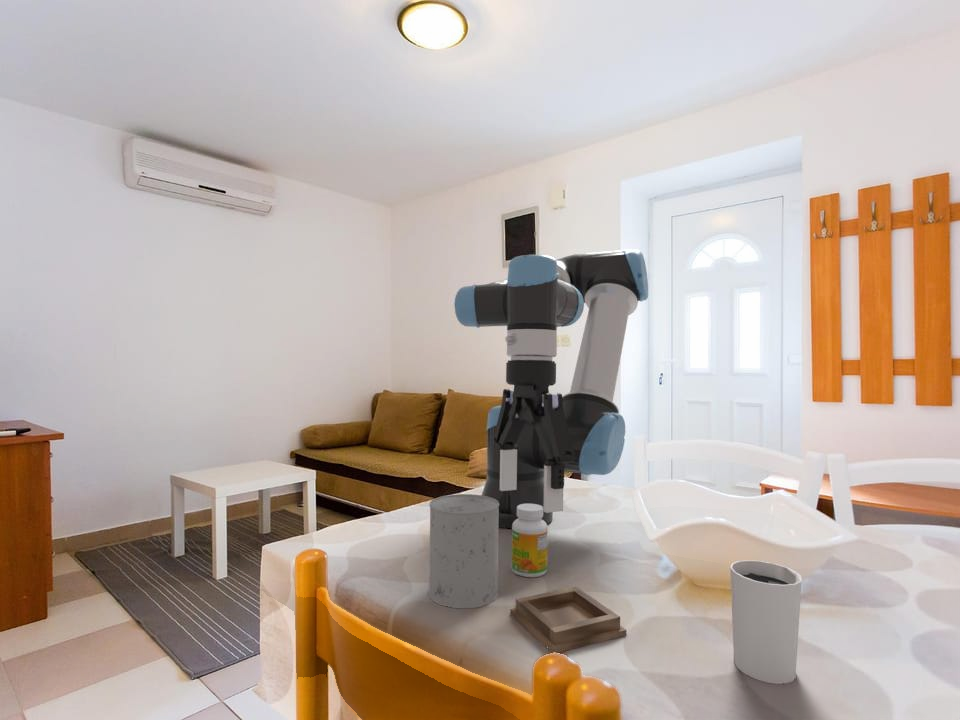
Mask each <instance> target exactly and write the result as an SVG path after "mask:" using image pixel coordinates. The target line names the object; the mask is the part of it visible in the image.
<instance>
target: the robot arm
mask: <svg viewBox="0 0 960 720" xmlns="http://www.w3.org/2000/svg"><path fill="white" fill-rule="evenodd" d="M648 283H649V282H648V273H647V265H646V260H645V256H644V255H643V253H642V252H641V251H640V250H638V249H624V248H623V249H622V250H614V251H613V250H612V251H599V252H598V251H597V252H587V253H585V252H584V253H574V254H572V255H567V256H564V257H561V258H557V259H556V258H554V257H552V256H551V255H546V254H525V255H519V256H515V257H513V258H512V259H510V261H509V264H508V271H507V278H504V279H501V280H497V281H493V282H489V283H485V284H478V285H477V284H472V285H466V286H462V287H460V288H459V289H458V291H457V292H456V295H455V298H454V302H453V303H454V314H455V316H456V319H457V321H458V322H459V323H460V324H461V325H462V326H464V327H473V328H475V327H476V328H481V327H482V328H483V327H485V328H487V327H506V332H507V334H506V336H505V339H504V340H505V342H506V355H507V357H510V360H507V362H506V363H505V364H506V365H505V367H506V369H505V370H506V371H505V381H506V384H508V385H510V386H513V388H504V389H503V390H502V401H501V405H497V406H494V407H491V408H490V410H488V414H487V421H486V422H487V423H486V429H485V430H486V480H485V483H484V487H483V490H482V493H481V495H482V496H487V497H491V498H493V499H496V500H497V501H498V502H499V518H498V528H499V527H500V528H504V529H505V528H506V529H507V528H508V529H512V524H513V522H514V521H515V520H516V519H518V517H517V506H518V505H520V504H537V505H540V506H542V507H543V517H542V518H541V519H542V520H543V521H545V522H546V524H547V525H548V524H550V523H551V522H552V521H553V516H554V514H553V513H556V512H563V511H564V487H565V473H576V474H582V475H585V476H590V475H596V476H606V475H608V474H610V473H612V472H613V471H614V470H615V469H616V467H617V466H618V464H619V463H620V461H621V457H622V455H623V451H624V447H625V440H626V439H625V436H626V423H625V419H624V416H623V415H621V414H620V413H619V408H618V406H617V404H616V403H615V402H614V401H613V400H614V396H615V392H616V391H615V390H616V386H617V385H616V384H617V380H618V373H619V369H620V368H619V367H620V364H621V357H622V352H623V347H624V341H625V335H626V329H627V326H628V325H627V324H628V320H629V316H631V315H632V314H633V313H634V312H635V311H636V310H637V307H638V303H639V302H643V301H647V300H648V298H649V284H648ZM584 306H587V308H588V312H587V317H586V320H585V321H586V322H585V325H584V328H583V332H582V337H581V342H580V347H579V351H578V356H577V358H576V359H577V360H576V364H575V368H574V373H573V377H572V382H571V386H570V391H569V392H568V393H566V394H564V395H563V394H562V392H561V393H560V392H550V391H549V387H550V386H554V385H555V384H556V382H557V363H556V362H555V360H553V359H554V358H555V357H556V356H557V354H558V353H557V351H558V350H557V348H558V347H557V345H558V343H557V342H558V340H557V339H558V338H557V337H558V336H557V335H558V334H557V333H558V331H557V328H558V327H561V328H563V327H569V326H572V325H573V324H575V323H576V322H577V321H579V319H580V318H581V316H582V315H583V312H584V308H585V307H584Z"/></svg>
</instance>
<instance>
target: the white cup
mask: <svg viewBox="0 0 960 720" xmlns="http://www.w3.org/2000/svg"><path fill="white" fill-rule="evenodd" d="M729 569H730V591H731V592H730V593H731V594H730V595H731V615H732V616H731V618H732V643H733V645H732V646H733V662H734V664H735V666H736V668H737V669H738V670H740V672H741V673H743V674H744V675H747V676H749V677H750V678H753V679H755V680H757V681H761V682H764V683H768V684H769V683H770V684H776V685H784V684H790V683H792V682H793V681H795V680H796V677H797V676H796V675H797V660H798V658H797V657H798V647H799V646H798V644H799V627H800V613H801V612H800V611H801V597H802V596H801V595H802V594H801V593H802V581H803V580H802V579H803V578H802V577H803V576H802V575H801V574H799V573H798V572H797V571H795V570H793V569H791V568H789V567H787V566H784V565H781V564H777V563H775V562H774V563H773V562H767V561H762V560H752V559H750V560H749V559H746V560H738V561H735V562H733V563H731V565H730V568H729ZM794 679H795V680H794ZM783 683H784V684H783Z"/></svg>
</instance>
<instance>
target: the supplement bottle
mask: <svg viewBox="0 0 960 720" xmlns="http://www.w3.org/2000/svg"><path fill="white" fill-rule="evenodd" d="M517 517H518V519H516V520H515V521H514V522H513V524H512V528H511V570H512V573H514V574H515V575H518V576H521V577H524V578H538V577H541V576H543V575H545V574H546V573H547V571H548V535H549V533H548V531H549V530H548V524H546V522H545V521H543V520H542V519H541V518H542V517H543V507H542V506H540V505H537V504H520V505H518V506H517Z"/></svg>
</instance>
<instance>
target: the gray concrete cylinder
mask: <svg viewBox="0 0 960 720" xmlns="http://www.w3.org/2000/svg"><path fill="white" fill-rule="evenodd" d="M429 509H430V510H429V588H428V596H429V599H431V600H432V601H433V602H434V603H436V604H437V603H438V604H437V605H439V604H440V605H439V606H442V605H443V607H445V606H448V607H447V608H450V607H452V608H451V609H459V608H460V609H461V610H462V609H463V610H464V609H476V608H479V607H484V606H487V605H488V604H491V603H493V602H494V601H495V600H496V599H497V598H498V597H499V596H498V595H499V580H498V579H499V527H498V518H499V502H498V501H497V500H496V499H493V498H491V497H487V496H482V494H481V495H480V494H469V493H468V494H467V493H464V494H463V493H459V494H456V493H455V494H448V495H442V496H439V497H436V498H434V499H433V498H432V499H431V501H429ZM460 609H459V610H460Z"/></svg>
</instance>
